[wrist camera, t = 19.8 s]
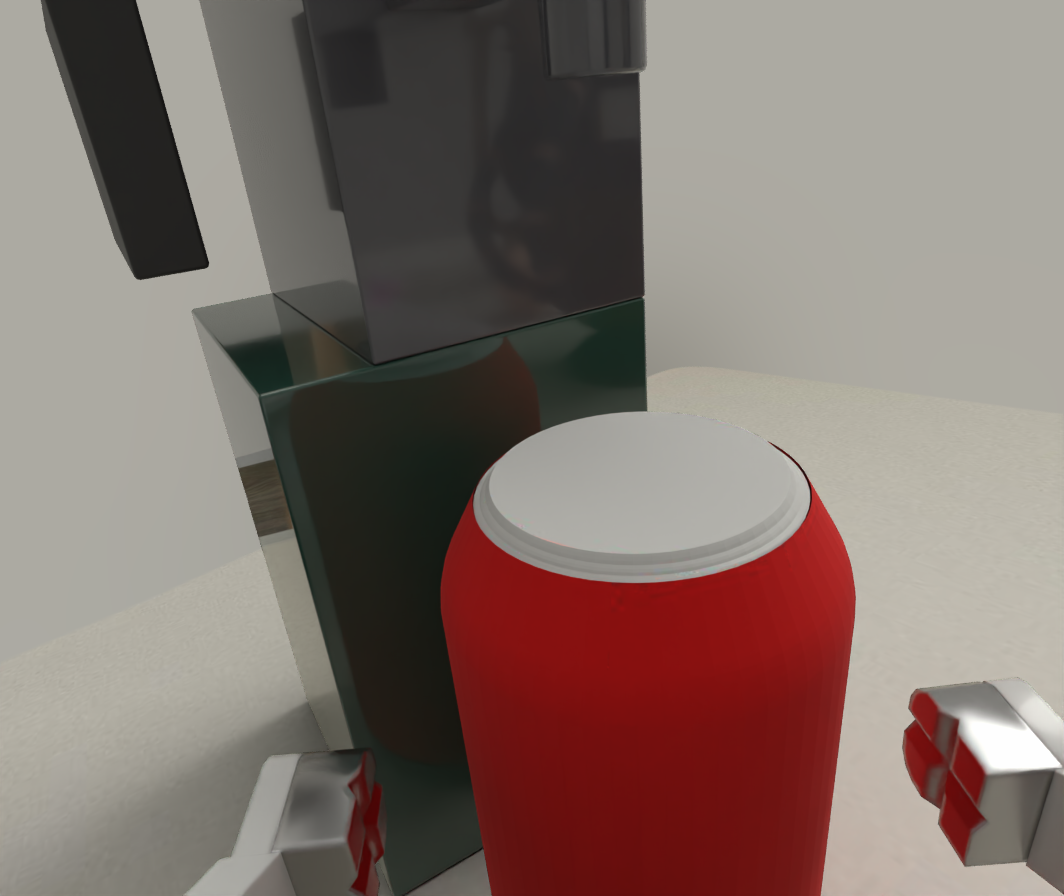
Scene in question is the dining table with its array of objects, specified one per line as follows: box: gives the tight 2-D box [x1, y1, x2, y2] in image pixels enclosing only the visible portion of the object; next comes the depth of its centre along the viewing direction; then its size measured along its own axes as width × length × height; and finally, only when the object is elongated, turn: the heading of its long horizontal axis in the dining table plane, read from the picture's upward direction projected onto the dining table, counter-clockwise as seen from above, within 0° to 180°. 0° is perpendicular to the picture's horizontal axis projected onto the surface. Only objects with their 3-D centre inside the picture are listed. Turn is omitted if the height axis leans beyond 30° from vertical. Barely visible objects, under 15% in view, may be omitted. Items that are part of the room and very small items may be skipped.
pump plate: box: [41, 0, 209, 280], centre depth 14 cm, size 1×6×4 cm, turn 31°
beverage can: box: [441, 411, 856, 896], centre depth 13 cm, size 6×6×12 cm
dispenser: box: [192, 0, 647, 896], centre depth 16 cm, size 8×13×21 cm, turn 31°
